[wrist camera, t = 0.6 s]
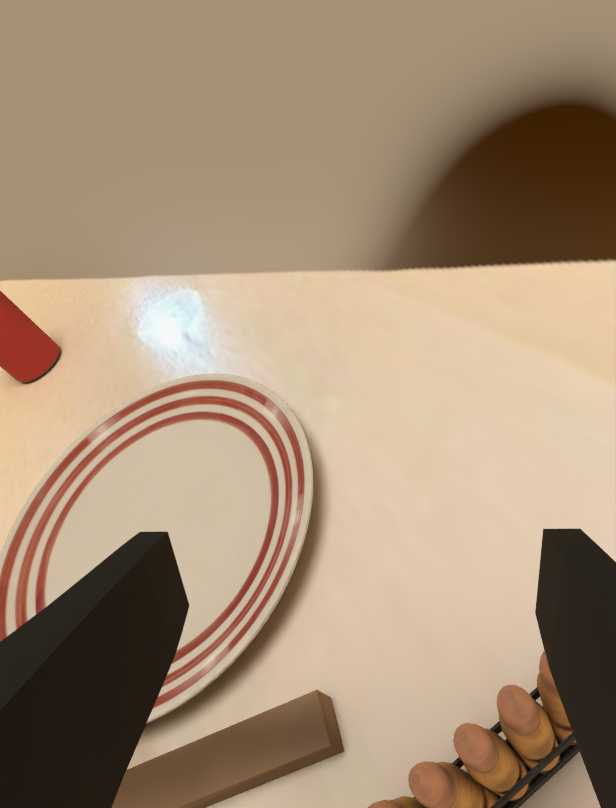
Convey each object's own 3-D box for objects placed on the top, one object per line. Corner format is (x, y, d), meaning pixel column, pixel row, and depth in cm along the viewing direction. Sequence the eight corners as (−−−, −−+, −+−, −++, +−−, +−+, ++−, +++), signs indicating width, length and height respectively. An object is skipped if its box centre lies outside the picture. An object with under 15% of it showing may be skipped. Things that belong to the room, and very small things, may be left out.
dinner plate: (388, 628, 29) (370, 609, 26) (-14, 818, 31) (-62, 815, 29) (278, 351, 48) (262, 326, 46) (37, 480, 51) (11, 462, 48)
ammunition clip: (448, 871, 21) (358, 886, 13) (420, 823, 23) (321, 809, 14) (632, 702, 22) (657, 616, 14) (595, 665, 24) (597, 567, 15)
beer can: (71, 346, 65) (-5, 273, 57) (39, 385, 62) (-46, 314, 54) (42, 346, 69) (-34, 277, 61) (10, 384, 66) (-74, 316, 57)
